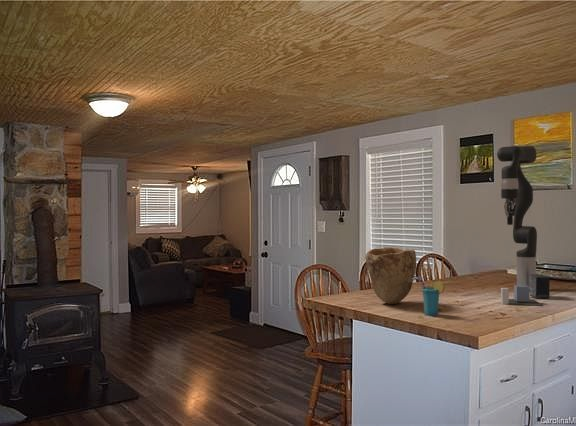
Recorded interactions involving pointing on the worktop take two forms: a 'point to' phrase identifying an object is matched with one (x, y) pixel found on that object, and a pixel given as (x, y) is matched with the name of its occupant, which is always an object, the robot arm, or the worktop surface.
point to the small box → (539, 286)
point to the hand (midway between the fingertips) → (510, 224)
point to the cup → (431, 297)
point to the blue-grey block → (521, 293)
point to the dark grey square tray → (524, 303)
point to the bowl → (391, 272)
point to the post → (504, 296)
